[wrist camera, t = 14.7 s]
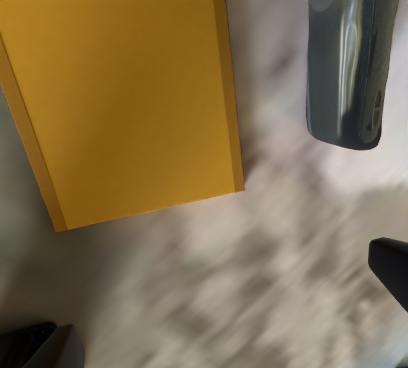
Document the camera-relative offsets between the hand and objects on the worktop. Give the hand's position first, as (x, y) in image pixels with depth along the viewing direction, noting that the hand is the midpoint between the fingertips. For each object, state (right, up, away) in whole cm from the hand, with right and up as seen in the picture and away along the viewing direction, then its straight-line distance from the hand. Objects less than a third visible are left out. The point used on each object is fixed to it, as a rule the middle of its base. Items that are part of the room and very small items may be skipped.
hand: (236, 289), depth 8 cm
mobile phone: (+7, +13, +10) cm, 18 cm away
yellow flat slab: (-6, +11, +8) cm, 15 cm away
